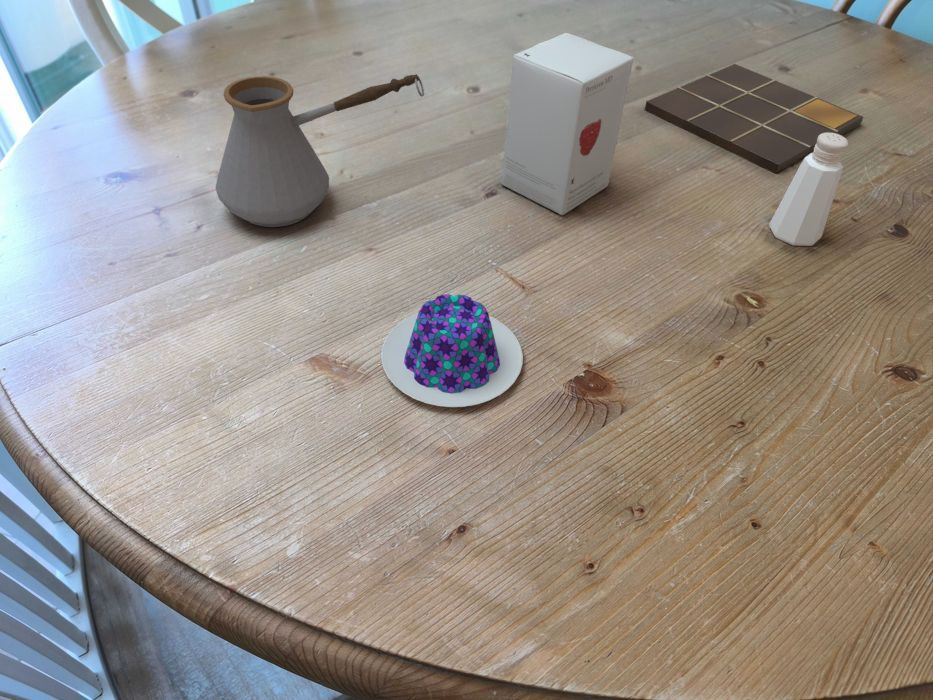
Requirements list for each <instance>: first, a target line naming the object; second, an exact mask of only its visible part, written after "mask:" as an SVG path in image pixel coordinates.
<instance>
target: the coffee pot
mask: <svg viewBox="0 0 933 700" xmlns="http://www.w3.org/2000/svg"><path fill="white" fill-rule="evenodd" d="M418 82H419V84H418ZM414 84H415V87H416V91H417V93H418V95H419V96H420V97H424V96H425V89H424V85H423V82H422V79H421V78H420V76H419V75H418V74H409V75H405V76H404V77H403V78H401V79H397V78H392V79H391V80H390V82H388V83H387V82H386V83H382V84H377V85H372V86H369V87H366V88H363V89H361V90H359V91H357V92H354V93H353V94H349V95H347V96H345V97H342V98H340V99H337V100H335V101H334V102H333V103H330V104H327V105H324V106H321V107H318V108H314V109H311V110H308V111H305V112H302V113H300V114H297V115H294V114H292V111H291V110H290V109H289V108H290V107H289V105H290V101H291V99H292V98H293V96H294V88H293V86H292V85H291V83H290V82H288V81H286V80H284V79H283V78H278V77H276V76H275V77H274V76H268V75H267V76H266V75H263V76H261V75H259V76H258V75H257V76H256V75H255V76H248V77H245V78H244V77H243V78H241V79H237V80H235V81H233V82H231V83H230V84H228V85H227V86H226V87H225V88H224V91H223V98H224V100H225V102H226V103H227V104H228V105H230V106H231V108H232V110H233V113H234V114H233V117H232V121H231V125H230V129H229V132H228V136H227V140H226V144H225V148H224V152H223V155H222V156H223V157H222V160H221V163H220V166H219V171H218V175H217V178H216V184H215V191H216V194H217V197H218V200H219V201H220V202H221V203H222V204H223V206H224V207H225V208H226V209H227V210H228V211H229V212H230V213H231V214H234V215H236V216H237V217H239V218H241V219H243V220H244V221H247V222H248V223H250V224H252V225H256V226H260V227H265V228H277V227H278V228H281V227H286V226H291V225H294V224H296V223H299V222H301V221H302V220H304V219H306V218H307V217H308V216H309V215H310V214H311V213H312V212H314V211H315V210H316V208H317V207H319V205H321V204H322V203H323V202H324V199H325V198H326V195H327V193H328V190H329V187H330V176H329V174H328V172H327V169H326V168H325V166H324V165H323V163H322V161H321V160H320V158H319V156H318V154H317V153H316V151H315V150H314V148H313V147H312V144H311V143H310V142H309V140H308V138H307V136H306V134H305V133H304V132H303V130H302V128H301V125H303V124H307V123H309V122H312V121H315V120H317V119H319V118H321V117H324V116H327V115H329V114H332V113H334V112H339V111H343V110H346V109H350V108H353V107H357V106H361V105H364V104H366V103H369V102H373V101H376V100H378V99H380V98H382V97H383V96H385V95H387V94H389V93H391V92H394V93H399V91H400V90H401V88H403V87H410V86H412V85H414ZM419 86H420V87H419ZM420 89H421V90H420Z"/></svg>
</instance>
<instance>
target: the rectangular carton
mask: <svg viewBox="0 0 933 700" xmlns="http://www.w3.org/2000/svg"><path fill="white" fill-rule="evenodd" d="M512 57H513V58H512V65H511V76H510V77H511V78H510V86H509V87H510V88H509V97H508V99H509V100H508V107H507V108H508V109H507V119H506V127H505V140H504V149H503V160H502V162H503V163H502V172H501V180H500V181H501V183H500V185H502V186H503V187H505V188H508V189H510V190H511V191H514V192H516V193H517V194H519V195H521V196H523V197H525V198H527V199H529V200H531V201H533V202H535V203H537V204H539V205H540V206H543V207H545V208H547V209H549V210H551V211H552V212H554V213H556V214H558V215H560V216H564V215H566V214H568V213H569V212H571V211H572V210H574V209H575V208H577V207H578V206H579V205H581V204H583V203H584V202H586V201H587V200H588V199H591V198H592V197H593V196H595V195H596V194H598V193H600V192H601V191H602V190H604V189H606V188H607V187H608V186H609V183H610V182H609V181H610V176H611V172H612V167H613V162H614V158H615V153H616V148H617V143H618V137H619V133H620V127H621V123H622V117H623V114H624V113H623V112H624V107H625V103H626V102H625V101H626V97H627V93H628V87H629V83H630V79H631V74H632V68H633V63H634V57H633V56H631V55H628V54H626V53H624V52H621V51H620V50H619V51H618V50H615V49H613V48H610V47H606V46H604V45H601V44H598V43H596V42H593V41H591V40H589V39H585V38H583V37H580V36H578V35H575V34H572V33H569V32H564V33H561V34H560V35H558V36H555V37H553V38H550V39H548V40H544V41H541V42H539V43H537V44H535V45H534V46H531V47H529V48H527V49H525V50H522V51H520V52H517V53H515V54H513V55H512Z"/></svg>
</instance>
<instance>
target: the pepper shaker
mask: <svg viewBox="0 0 933 700" xmlns="http://www.w3.org/2000/svg"><path fill="white" fill-rule="evenodd" d="M848 146H849V141H848V139H847V138H846V137H845V136H843V135H842V136H841V135H839V134H836V133H822V134H820V135H819V136H818V138H817V143H816V145H815V148H814V151H813V152H812V153H810V154H809V155H807V156H805V157H804V158H803V160H802V161H801V163H800V165H799V166H798V169H797V171H796V173H795V175H794V176H793V178H792V180H791V181H790V184H789V186H788V188H787V190H786V191H785V193H784V195H783V196H782V199H781V200H780V203H779V205H778V206H777V209H776V210H775V212H774V214H773V216H772V218H771V220H770V222H769V224H768V227H769V228H770V230H771V232H772V234H773V236H774V237H775V238H776V239H777V240H780V241H782V242H785V243H786V244H789V245H791V246H793V247H794V246H795V247H797V246H799V247H812V246H814V245H815V244H816V243H817V242H818V241H819V240H820V239H821V238H822V237H823V234H824V231H825V228H826V224H827V220H828V218H829V216H830V215H829V214H830V211H831V208H832V206H833V202H834V199H835V196H836V192H837V189H838V186H839V183H840V180H841V176H842V172H843V169H844V165H843V164H842V162H841V158H842V156H843V155H844V153H845V150H846V149H847V147H848Z"/></svg>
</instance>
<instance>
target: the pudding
mask: <svg viewBox="0 0 933 700" xmlns="http://www.w3.org/2000/svg"><path fill="white" fill-rule="evenodd" d="M380 357H381V358H380V359H381V364H382V368H383V371H384V373H385V374H386V377H387V379H388V380H389V381H390V382H391V383H392V384H393V386H395V388H397V389H398V390H399V391H400V392H402V393H403V394H405V395H407V396H409V397H410V398H412V399H414V400H417V401H419V402H422V403H425V404H427V405H432V406H436V407H446V408H463V407H464V408H465V407H470V406H476V405H480V404H482V403H483V404H484V403H486V402H489V401H491V400H493V399H495V398H497V397H499V396H501V395H502V394H503V393H505V392H506V391H507V390H509V389H510V387H512V385H514V383H515V382H516V381H517V379H518V378H519V375H520V374H521V371H522V368H523V363H524V355H523V349H522V346H521V344H520V341H519V340H518V338H517V337H516V335H515V334H514V332H513V331H512V330H511V329H510V328H509V327H508V326H507V325H506V324H505V323H503V322H501V321H500V320H498V319H497V318H495V317H493V316H491V315H490V314H489V312H488V310H487V308H486V306H485V305H484V304H482V302H479V301H476V300H475V301H474V300H473V298H472V297H470V296H468V295H467V294H457V295H454V294H453V295H452V294H449V293H447V294H446V293H445V294H441V295H437V296H436V298H435V299H432V300H431V299H430V300H427V301H426V302H424V303H422V306H421V307H420V308H419V311H418V312H416V313H414V314H412V315H409V316H408V317H406V318H405V319H403V320H401V321H399V322H398V324H396V325H395V326H394V327H393V328H392V329H391V330H390V332H389V333H388V334H387V335H386V338H385V339H384V341H383V343H382V347H381V351H380Z"/></svg>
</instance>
